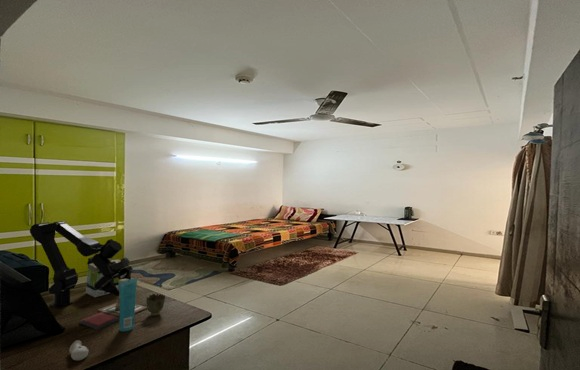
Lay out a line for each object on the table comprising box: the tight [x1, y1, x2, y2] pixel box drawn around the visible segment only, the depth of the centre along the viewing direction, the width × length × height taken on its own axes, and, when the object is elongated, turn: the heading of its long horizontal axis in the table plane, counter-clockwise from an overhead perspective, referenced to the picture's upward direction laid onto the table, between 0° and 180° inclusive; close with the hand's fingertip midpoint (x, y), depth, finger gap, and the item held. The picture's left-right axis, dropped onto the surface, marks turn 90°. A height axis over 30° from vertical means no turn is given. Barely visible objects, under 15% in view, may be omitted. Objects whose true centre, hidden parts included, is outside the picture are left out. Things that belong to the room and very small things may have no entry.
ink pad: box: [78, 312, 120, 331], centre depth 121 cm, size 11×9×1 cm
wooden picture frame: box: [97, 302, 148, 319], centre depth 133 cm, size 16×12×1 cm
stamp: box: [115, 279, 129, 311], centre depth 133 cm, size 5×5×12 cm
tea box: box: [85, 258, 127, 298], centre depth 153 cm, size 15×10×15 cm
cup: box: [146, 293, 166, 317], centre depth 130 cm, size 8×7×8 cm
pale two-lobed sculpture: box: [68, 339, 90, 361], centre depth 98 cm, size 4×8×5 cm
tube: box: [119, 276, 138, 332], centre depth 117 cm, size 7×5×19 cm, turn 158°
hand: (126, 291), depth 133 cm, fingers open, 9 cm apart
